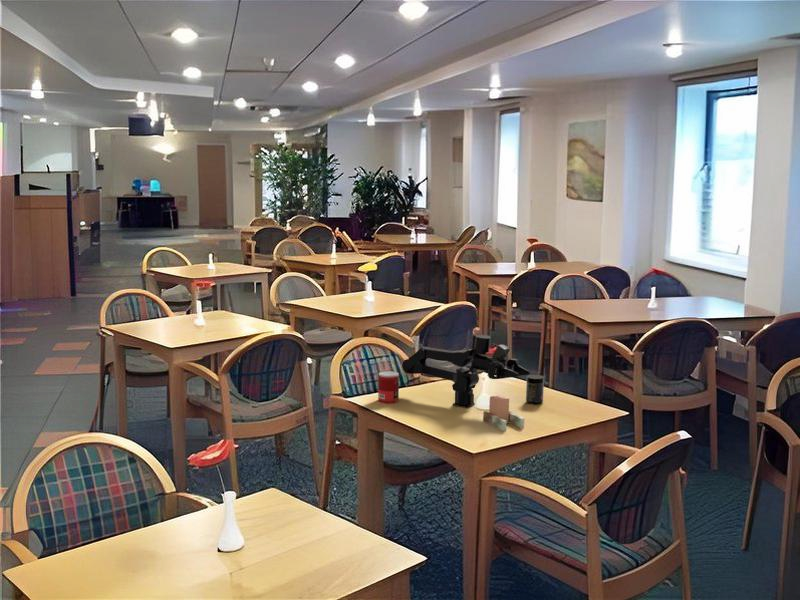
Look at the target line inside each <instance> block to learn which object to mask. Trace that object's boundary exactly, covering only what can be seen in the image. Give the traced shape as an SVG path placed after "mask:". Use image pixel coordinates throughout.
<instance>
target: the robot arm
mask: <svg viewBox="0 0 800 600" xmlns="http://www.w3.org/2000/svg"><path fill="white" fill-rule="evenodd" d="M491 339H492V337H491V336H490V335H487V334H473V335H472V344H471V345H472V346H471V348H470V349H460V350H449V349H443V348H442V349H441V348H437V347H436V348H435V347H429V346H423V347H420V348H419V349H418V350H417V351H416V352H415V353H413V354H412V355H411V356H410V357H408V358H407V359H404V360H403V361H402V363H401V367H402V370H403V372H404V373H405V374H409V375H410V374H411V375H417V374H420V375H421V374H423V375H426V376H427V375H428V376H432V377H435V378H438V379H444V380H447V381H451V382H453V384H452V385H451V387H452V390H453V391H454V403H452V406H455V407H456V406H457V407H461V408H467V409H468V408H469V407H472V406H474V405H475V404H476V403H475V393H474V388H475V387H476V386H477V384H478V383H479V381H480V377H479V373H478V370H479V371H482V372H484V373H485V374H487V377H488V378H489V379H490V380H491V379H492V380H502V379H510V378H516V377H517V378H518V377H520V376H528V375H531V374H530V373H531V372H530V371H529V369H526V368H524V367H523V366H521V365H520V361H519V359H517V358H510V359H508V360H507V359H506V357H507V354H508V353H509V352H510V347H509V346H508V345H505V344H499V345H497V346H496V348H495V350H494V352H493V353H492V357H491V356H487V355H486V354H487V353H489V352H490V348H491V347H490V346H491ZM428 359H431V360H437V361H445V362H449V363H451V364H453V365H454V366H458V367H459V368H457V369H453V368H450V367H445V366H441V365H437V364H432V363H428V362H427V360H428ZM469 365H470V367H467V366H469Z"/></svg>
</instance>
